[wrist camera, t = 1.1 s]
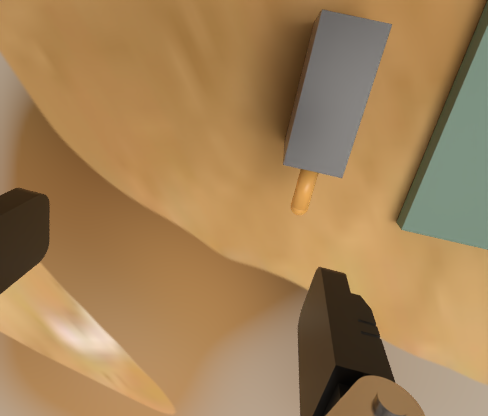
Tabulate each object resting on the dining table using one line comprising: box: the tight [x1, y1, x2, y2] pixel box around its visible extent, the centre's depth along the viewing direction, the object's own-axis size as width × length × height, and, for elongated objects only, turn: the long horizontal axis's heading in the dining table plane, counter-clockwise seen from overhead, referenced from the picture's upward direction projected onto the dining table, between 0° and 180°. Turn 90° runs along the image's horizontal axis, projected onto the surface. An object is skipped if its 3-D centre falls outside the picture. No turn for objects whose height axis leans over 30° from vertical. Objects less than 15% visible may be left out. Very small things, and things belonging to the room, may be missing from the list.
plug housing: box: [283, 10, 392, 215], centre depth 25 cm, size 12×4×7 cm, turn 169°
